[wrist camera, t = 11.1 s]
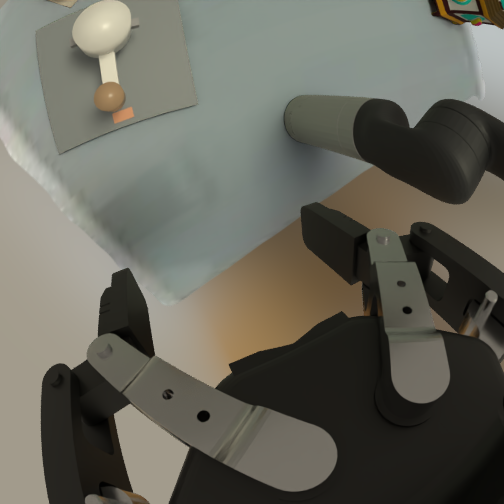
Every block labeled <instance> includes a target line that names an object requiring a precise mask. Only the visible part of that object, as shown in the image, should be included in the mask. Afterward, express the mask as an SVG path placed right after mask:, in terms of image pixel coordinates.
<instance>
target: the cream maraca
mask: <svg viewBox="0 0 504 504" xmlns="http://www.w3.org/2000/svg"><path fill="white" fill-rule="evenodd" d="M135 28H139V17H138V18H134V19H131V13H130V10H129V8H128V7H127V6H126V5H125V4H124V3H122V2H120V1H116V0H104V1H100V2H97V3H95V4H93V5H91V6H89V7H88V8H86V9H85V10H84V11H83V12H82V13H81V14H80V15H79V16H78V18H77V19H76V21H75V23H74V26H73V30H72V36H73V38H71V39H69V41H70V47H71V48H75V47H77V46H79V47H80V49H81V50H82V51H83V52H84V53H85V54H86V55H88V56H89V57H93V58H99V62H100V69H101V76H102V82H103V84H102V85H100V86H99V87H98V89H97V90H96V92H95V94H94V103H95V105H96V107H97V108H98V109H100V110H103V111H108V112H115V111H117V110H119V109H121V108H122V107H123V105H124V104H125V101H126V95H125V92H124V91H123V89H122V87H121V86H120V83H119V77H118V70H117V64H116V56H115V53H116V52H118V51H119V50H121V49H122V48H123V47H124V46H125V44H126V43H127V42H128V40H129V38H130V35H131V29H135Z"/></svg>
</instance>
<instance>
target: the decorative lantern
mask: <svg viewBox="0 0 504 504" xmlns="http://www.w3.org/2000/svg"><path fill="white" fill-rule="evenodd" d="M434 1H435V4H436V7H437V11H436V12H432V15H433V16H440V17H443V18H446V19H448V20H450V21H452V23H453V24H456V25H461V24H463V23H465V22H471V23H472V25H475V26H479V25H481V24H490V25H495V26H497V27H499V28H501V29H503V28H504V0H434Z"/></svg>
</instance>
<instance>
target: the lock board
mask: <svg viewBox="0 0 504 504" xmlns="http://www.w3.org/2000/svg"><path fill="white" fill-rule="evenodd" d="M116 1H120V2H122V3H124V4H125V5H126V6H127V7H128V8H129V10H130V13H131V19H134V18H138V17H139V28H135V29H131V35H130V38H129V40H128V42H127V43H126V44H125V46H124V47H123V48H122V49H121V50H119V51H118V52H116V53H115V56H116V64H117V70H118V77H119V83H120V86H121V87H122V89H123V91H124V92H125V95H126V101H125V104H124V105H123V107H122V108H121V109H119V110H117V111H115V112H108V111H103V110H100V109H98V108H97V107H96V105H95V103H94V94H95V92H96V90H97V89H98V87H99V86H100V85H102V84H103V82H102V76H101V69H100V62H99V58H93V57H89V56H88V55H86V54H85V53H84V52H83V51H82V50H81V49H80V47H79V46H77V47H75V48H71V47H70V41H69V39H71V38H73V36H72V30H73V26H74V23H75V21H76V19H77V18H78V16H79V15H80V14H81V13H82V12H83V11H84V10H85V9H86V8H84V9H82V10H79V11H77V12H74V13H72V14H69V15H67V16H65V17H63V18H61V19H58V20H56V21H54V22H52V23H50V24H48V25H46V26H44V27H42V28H40V29H38V30H37V31H36V43H37V53H38V62H39V69H40V75H41V82H42V87H43V92H44V98H45V102H46V107H47V111H48V116H49V120H50V124H51V127H52V131H53V135H54V138H55V142H56V145H57V149H58V152H59V154H61V153H63V152H65V151H67V150H69V149H71V148H74V147H76V146H78V145H80V144H82V143H85V142H87V141H89V140H91V139H94V138H96V137H98V136H101V135H103V134H106V133H108V132H111V131H113V130H116V129H119V128H121V127H124V126H127V125H130V124H132V123H135V122H138V121H141V120H144V119H147V118H150V117H154V116H157V115H160V114H163V113H167V112H170V111H174V110H178V109H181V108H185V107H189V106H193V105H197V104H198V101H197V96H196V91H195V87H194V82H193V77H192V72H191V67H190V62H189V57H188V52H187V47H186V42H185V36H184V31H183V26H182V21H181V15H180V10H179V4H178V0H116ZM87 8H88V7H87Z"/></svg>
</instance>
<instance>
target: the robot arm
mask: <svg viewBox="0 0 504 504" xmlns="http://www.w3.org/2000/svg"><path fill="white" fill-rule="evenodd" d="M284 122H285V127H286V129H287V131H288V133H289V134H290V136H291V137H292V138H293V139H295V140H296V141H298V142H302V143H305V144H309V145H312V146H316V147H319V148H323V149H326V150H330V151H333V152H336V153H340V154H343V155H346V156H349V157H352V158H356V159H359V160H362V161H365V162H367V163H370V164H373V165H375V166H377V167H378V168H380V169H381V170H383V171H384V172H385V173H387V174H389V175H391V176H392V177H394V178H397V179H399V180H401V181H403V182H405V183H407V184H409V185H411V186H413V187H415V188H417V189H419V190H421V191H422V192H424V193H426V194H428V195H430V196H432V197H434V198H436V199H438V200H440V201H443V202H446V203H449V204H463V203H465V202H466V201H468V200H469V198H470V197H471V196H472V194H473V193H474V191H475V189H476V187H477V186H478V184H479V182H480V180H481V178H482V176H483V174H484V172H485V170H486V171H488V172H491V173H492V174H494V175H496V176H498V177H499V178H501V179H502V180H504V123H503V122H501V121H500V120H498V119H497V118H495V117H493V116H491V115H490V114H488V113H486V112H484V111H483V110H481V109H479V108H476V107H474V106H472V105H470V104H467V103H465V102H462V101H459V100H454V99H444V100H440V101H438V102H436V103H435V104H434V105H433V106H432V107H431V108H430V109H429V110H428V111H427V112H426V113H425V115H424V116H423V117H422V118H421V120H420V121H419V122H418V123H417V125H416V126H415V127H414V128H410V127H409V122H408V119H407V116H406V114H405V112H404V111H403V109H402V108H401V107H400V106H399V105H398V104H396V103H395V102H392V101H390V100H385V99H375V98H365V97H350V96H329V95H301V96H298V97H296V98H294V99H293V100H292V101H291V102H290V103H289V105H288V106H287V108H286V111H285V116H284ZM301 222H302V235H303V240H304V243H305V245H306V246H307V248H308V249H309V250H311V251H312V252H313V253H314V254H315V255H316V256H318V257H319V258H320V259H321V260H322V261H323V262H325V263H326V264H327V265H328V266H329V267H330V268H332V269H333V270H334V271H335V272H336V273H337V274H339V275H340V276H341V277H342V278H343V279H344V280H345V281H347V282H348V283H349V284H350V285H353V284H355V283H357V282H358V281H362V300H363V316H356V317H351V318H348V317H347V316H346V315H345V314H344V313H343V312H342V311H341V312H340V313H338V314H336V315H334V316H332V317H330V318H328V319H326V320H324V321H322V322H320V323H318V324H317V325H316V326H314V327H313V328H312V329H311V330H310V331H308V332H307V333H306V334H305V335H304V336H302V337H301V338H300V339H299V340H298V341H296V342H295V343H293V344H290V345H286V346H282V347H278V348H273V349H268V350H264V351H259V352H257V353H254V354H252V355H249V356H247V357H245V358H243V359H240V360H238V361H235V362H233V363H230V364H229V366H230V369H231V371H232V373H231V374H230V375H228V376H227V377H226V378H225V379H223V380H222V381H221V382H220V383H219V385H218V386H217V387H216V388H213V387H211V386H209V385H207V384H205V383H203V382H201V381H199V380H197V379H195V378H194V377H192V376H190V375H188V374H186V373H184V372H183V371H181V370H179V369H177V368H176V367H174V366H172V365H171V364H169V363H167V362H165V361H164V360H162V359H161V358H159V357H157V356H155V352H154V346H153V340H152V334H151V328H150V321H149V314H148V307H147V304H146V301H145V298H144V296H143V294H142V292H141V290H140V288H139V287H138V284H137V282H136V280H135V278H134V276H133V274H132V272H131V271H130V269H129V268H126V269H123V270H120V271H118V272H116V273H113V274H112V283H111V287H109V288H106V289H105V291H104V293H103V295H102V296H101V301H100V311H99V314H100V315H99V324H98V338H96V339H95V340H94V341H93V342H92V343H91V344H90V346H89V348H88V351H87V360H86V361H84V362H83V363H81V364H80V365H78V366H77V367H75V368H74V369H72V370H71V369H70V368H69V367H68V366H67V365H65V364H56V365H54V366H52V367H51V368H50V369H49V370H48V371H47V372H46V374H45V376H44V378H43V382H42V395H41V442H42V456H43V467H44V475H45V482H46V488H47V494H48V499H49V504H150V503H149V502H148V501H147V500H146V499H145V498H144V497H142V496H140V495H138V494H136V493H133V490H132V487H131V484H130V481H129V478H128V474H127V471H126V467H125V464H124V460H123V456H122V452H121V448H120V443H119V439H118V434H117V429H116V424H115V419H114V413H116V412H117V411H119V410H120V409H122V408H124V407H125V406H127V405H128V404H132V405H133V406H134V407H135V408H136V409H137V410H139V411H140V412H141V413H142V414H144V415H145V416H146V417H148V418H149V419H150V420H151V421H153V422H154V423H155V424H157V425H158V426H160V427H161V428H162V429H163V430H165V431H166V432H167V433H169V434H170V435H172V436H173V437H174V438H176V439H177V440H179V441H180V442H182V443H183V444H185V445H186V446H188V447H189V451H188V454H187V456H186V459H185V462H184V464H183V467H182V470H181V472H180V475H179V477H178V480H177V483H176V485H175V488H174V491H173V493H172V496H171V498H170V501H169V504H504V372H503V370H502V368H501V365H500V363H501V362H502V360H503V359H504V273H502V272H501V271H500V270H499V269H497V268H496V267H495V266H493V265H492V264H491V263H489V262H488V261H487V260H485V259H484V258H482V257H481V256H480V255H478V254H477V253H475V252H474V251H472V250H471V249H470V248H468V247H466V246H465V245H464V244H462V243H461V242H459V241H458V240H456V239H455V238H453V237H451V236H450V235H448V234H447V233H445V232H444V231H442V230H440V229H439V228H437V227H436V226H434V225H432V224H430V223H426V222H416V223H413V224H412V225H411V230H410V234H409V235H403V236H398V235H397V234H396V233H395V232H393V231H391V230H388V229H383V228H379V229H373V230H370V229H368V228H367V227H365V226H363V225H362V224H360V223H358V222H357V221H355V220H353V219H352V218H350V217H347V216H346V215H345V214H343V213H341V212H339V211H336V210H333V209H329V208H327V207H325V206H323V205H321V204H320V203H318V202H315V203H312V204H309V205H306V206H303V207H302V208H301ZM434 259H435V260H436V261H438V262H439V263H440V264H442V265H443V266H444V267H446V269H447V270H448V272H449V281H448V283H446V282H445V281H443V280H442V279H441V278H440V277H439V276H437V275H436V274H435V273H433V272H432V271H431V268H432V265H433V261H434ZM429 306H430V307H431V308H432V309H433V310H434V311H435V312H436V313H437V314H438V315H440V316H441V317H442V318H443V319H444V320H445V321H446V322H447V323H448V324H449V325H450V326H451V327H452V328H453V329H454V330H455V331H456V332H457V333H458V334H457V333H452V332H447V331H442V330H437V329H435V326H434V322H433V318H432V314H431V311H430V307H429Z"/></svg>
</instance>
